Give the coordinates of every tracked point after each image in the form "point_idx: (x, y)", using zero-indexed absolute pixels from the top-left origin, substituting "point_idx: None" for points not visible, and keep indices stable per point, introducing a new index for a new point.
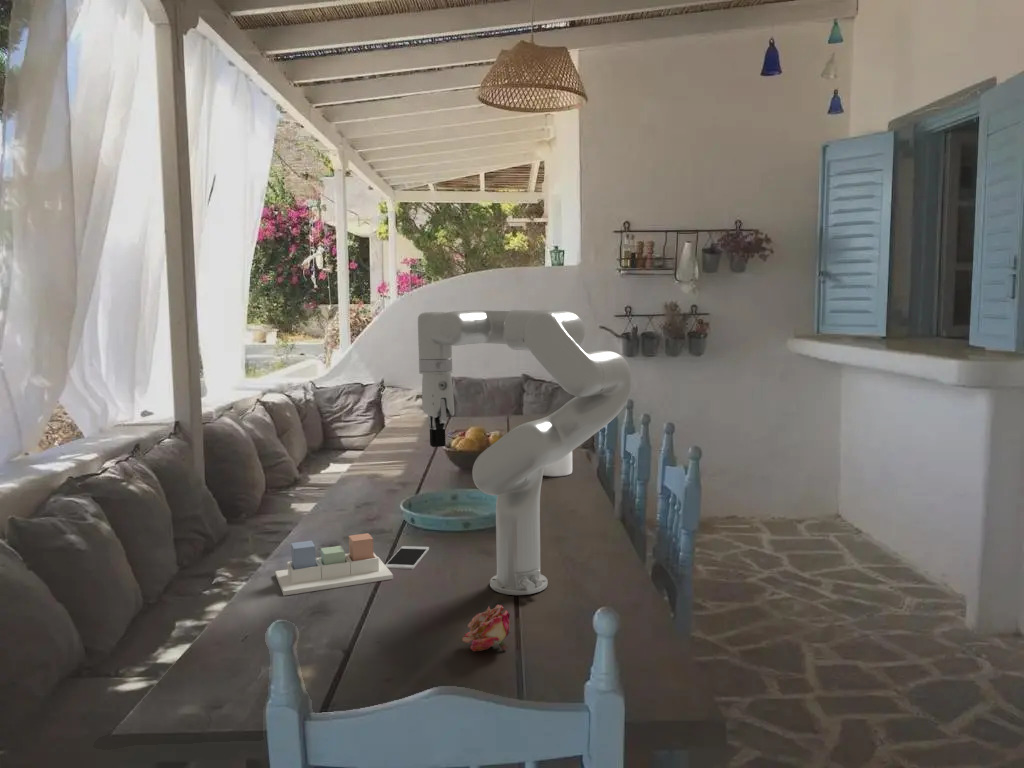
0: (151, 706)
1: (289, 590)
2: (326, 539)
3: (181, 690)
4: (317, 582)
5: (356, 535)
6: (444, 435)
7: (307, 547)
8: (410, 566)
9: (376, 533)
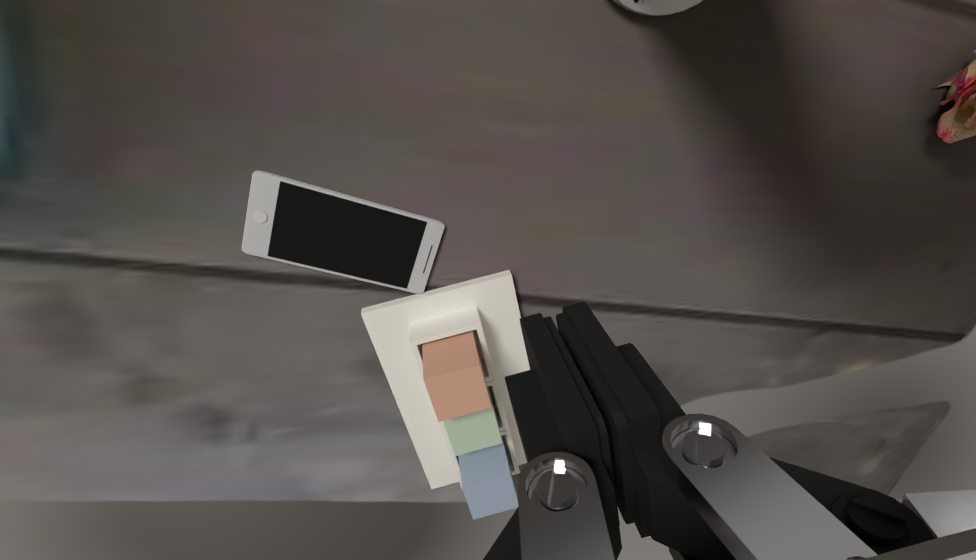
0: None
1: None
2: (161, 438)
3: None
4: None
5: (440, 405)
6: (625, 364)
7: (513, 486)
8: (437, 230)
9: (84, 326)
